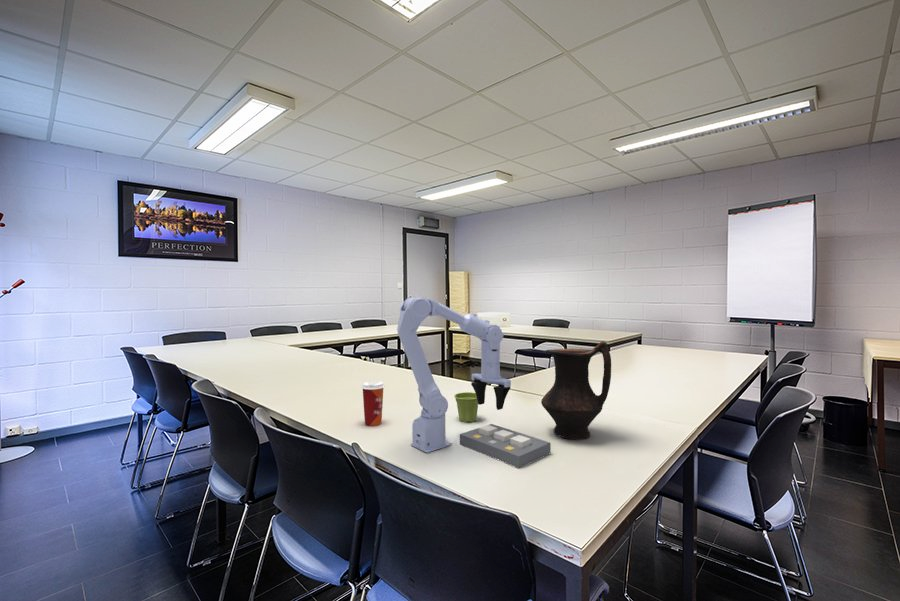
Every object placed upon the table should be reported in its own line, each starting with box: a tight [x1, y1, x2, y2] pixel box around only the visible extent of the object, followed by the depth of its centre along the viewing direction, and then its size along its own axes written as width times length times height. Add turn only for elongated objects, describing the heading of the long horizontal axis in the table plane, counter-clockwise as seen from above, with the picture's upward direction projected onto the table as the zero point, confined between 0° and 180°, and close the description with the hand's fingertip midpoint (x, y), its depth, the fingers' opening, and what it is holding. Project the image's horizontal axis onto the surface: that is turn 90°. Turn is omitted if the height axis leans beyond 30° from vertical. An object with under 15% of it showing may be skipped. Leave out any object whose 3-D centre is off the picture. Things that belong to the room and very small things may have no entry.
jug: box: [540, 340, 612, 440], centre depth 123 cm, size 21×18×30 cm
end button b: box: [510, 435, 531, 449], centre depth 108 cm, size 4×4×3 cm
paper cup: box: [361, 380, 385, 427], centre depth 135 cm, size 8×8×14 cm
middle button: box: [494, 430, 514, 443], centre depth 112 cm, size 4×4×3 cm
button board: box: [459, 423, 552, 469], centre depth 112 cm, size 14×22×3 cm, turn 42°
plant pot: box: [453, 391, 479, 423], centre depth 139 cm, size 9×9×9 cm
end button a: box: [478, 424, 498, 437], centre depth 117 cm, size 4×4×3 cm
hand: (490, 406), depth 122 cm, fingers open, 7 cm apart
